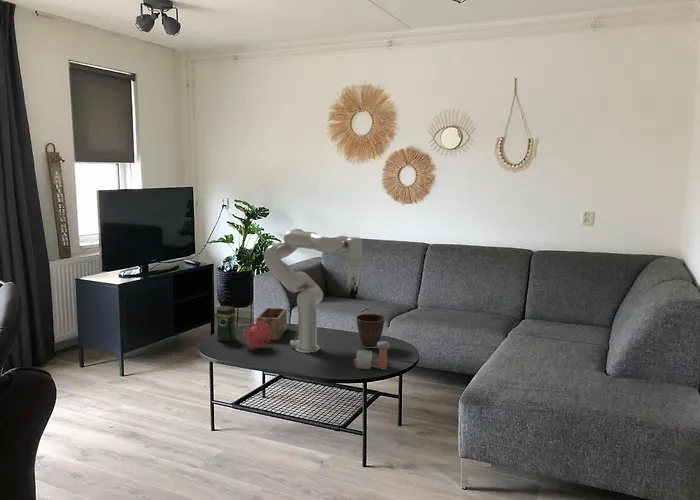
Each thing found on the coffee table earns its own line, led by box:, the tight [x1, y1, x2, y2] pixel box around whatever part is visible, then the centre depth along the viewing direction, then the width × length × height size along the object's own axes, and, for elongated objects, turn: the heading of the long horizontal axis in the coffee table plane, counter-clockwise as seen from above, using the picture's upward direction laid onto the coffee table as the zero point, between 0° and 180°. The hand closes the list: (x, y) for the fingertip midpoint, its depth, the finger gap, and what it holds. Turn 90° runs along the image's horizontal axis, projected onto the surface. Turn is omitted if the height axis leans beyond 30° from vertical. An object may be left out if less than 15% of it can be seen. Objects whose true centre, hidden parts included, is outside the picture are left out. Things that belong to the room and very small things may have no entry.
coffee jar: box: [216, 305, 237, 342], centre depth 307 cm, size 10×8×19 cm
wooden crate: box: [256, 307, 288, 341], centre depth 319 cm, size 12×22×12 cm, turn 175°
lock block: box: [355, 349, 373, 368], centre depth 270 cm, size 7×7×7 cm
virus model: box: [242, 319, 272, 350], centre depth 294 cm, size 15×15×15 cm
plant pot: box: [356, 313, 386, 347], centre depth 299 cm, size 15×15×16 cm
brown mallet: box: [353, 340, 391, 369], centre depth 269 cm, size 17×7×12 cm, turn 85°
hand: (353, 296), depth 282 cm, fingers open, 9 cm apart
